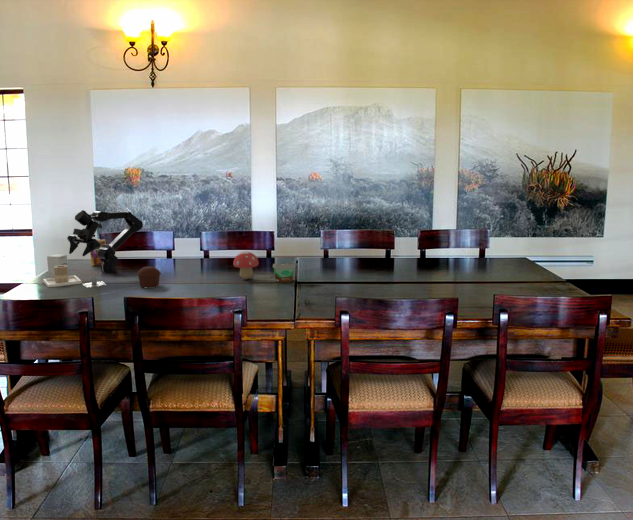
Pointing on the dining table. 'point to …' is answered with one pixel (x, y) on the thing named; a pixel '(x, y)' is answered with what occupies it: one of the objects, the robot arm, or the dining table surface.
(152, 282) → the muffin
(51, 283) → the plastic tray
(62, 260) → the supplement box
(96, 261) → the candy box
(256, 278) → the dining table surface
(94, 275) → the white square pedestal
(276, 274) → the food container
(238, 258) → the decorative mushroom
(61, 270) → the wooden pen holder
